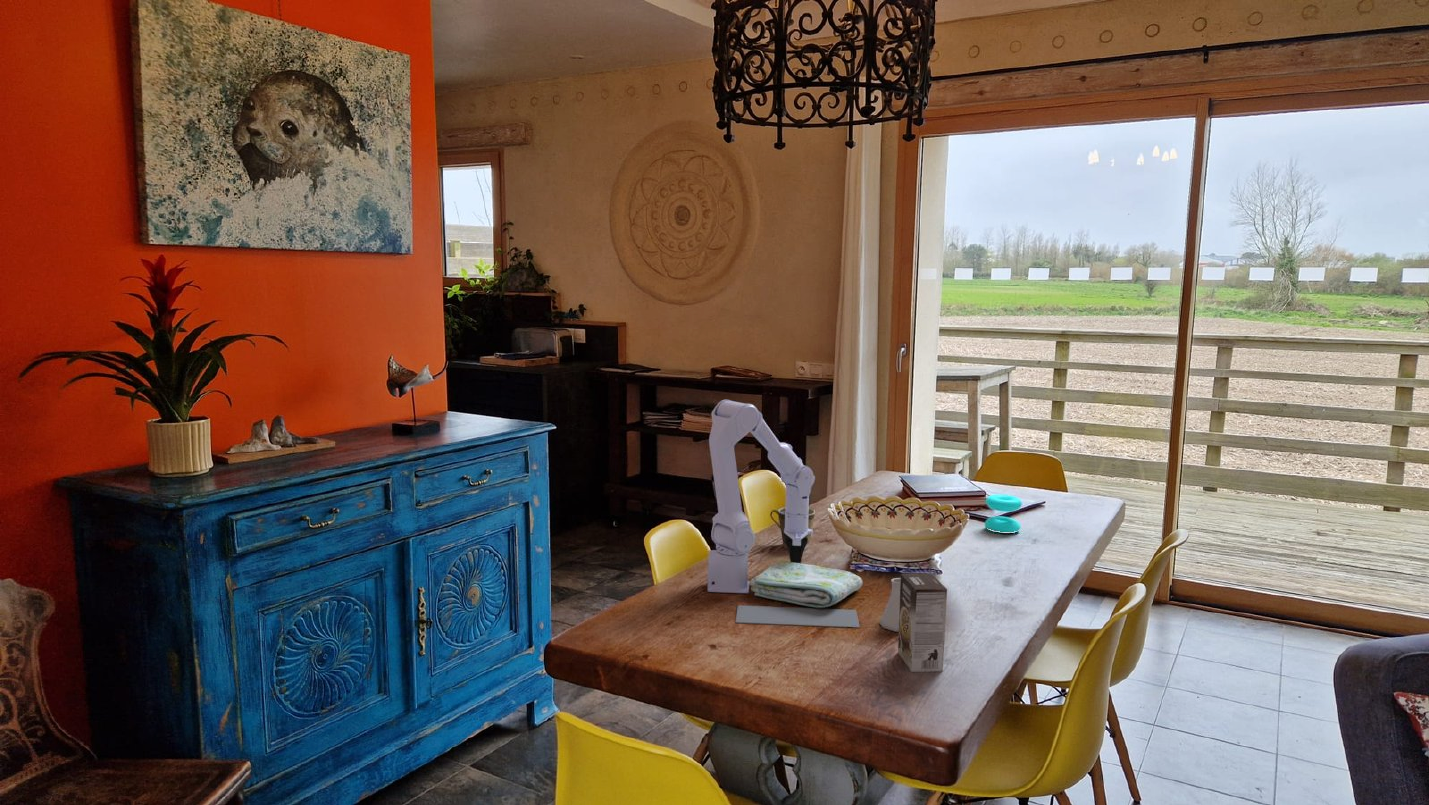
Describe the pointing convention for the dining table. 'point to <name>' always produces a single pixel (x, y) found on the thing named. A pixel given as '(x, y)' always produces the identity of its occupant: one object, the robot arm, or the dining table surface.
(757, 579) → the towel
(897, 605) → the flask
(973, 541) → the dining table surface
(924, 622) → the coffee box
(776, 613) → the slate mat
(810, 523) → the ceramic cup
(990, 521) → the donuts
